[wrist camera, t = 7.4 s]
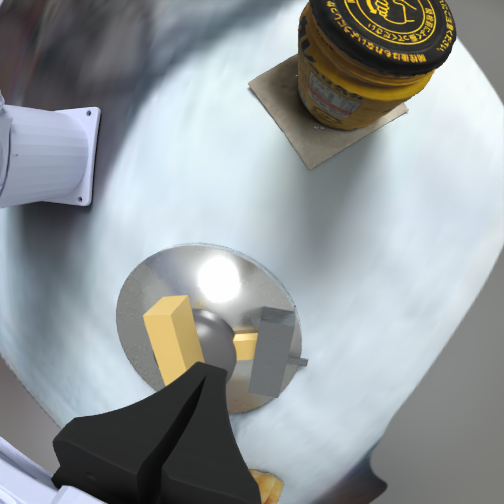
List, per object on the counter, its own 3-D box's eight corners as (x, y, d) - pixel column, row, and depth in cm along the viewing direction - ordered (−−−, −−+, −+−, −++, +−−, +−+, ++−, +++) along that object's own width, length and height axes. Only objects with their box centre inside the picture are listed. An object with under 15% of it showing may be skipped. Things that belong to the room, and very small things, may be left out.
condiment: (407, 110, 18) (507, 58, 6) (309, 170, 20) (328, 161, 8) (346, 29, 17) (381, -79, 5) (248, 84, 19) (194, -7, 7)
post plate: (127, 382, 26) (111, 402, 23) (121, 228, 22) (97, 237, 19) (288, 420, 25) (286, 446, 22) (328, 263, 21) (334, 278, 18)
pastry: (200, 482, 30) (192, 504, 26) (204, 454, 28) (195, 479, 24) (274, 497, 29) (271, 521, 25) (288, 471, 27) (286, 497, 23)
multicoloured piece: (288, 374, 22) (285, 419, 17) (174, 376, 23) (150, 415, 19) (275, 276, 20) (269, 307, 15) (148, 288, 22) (113, 316, 17)
